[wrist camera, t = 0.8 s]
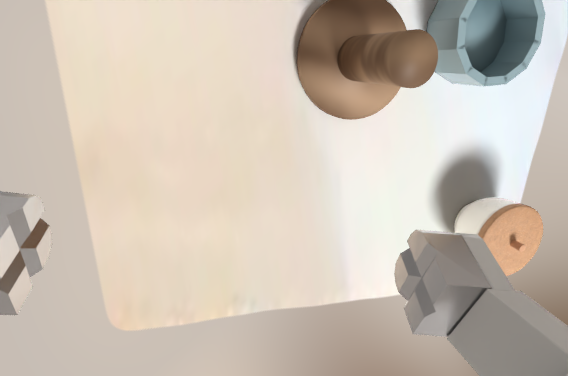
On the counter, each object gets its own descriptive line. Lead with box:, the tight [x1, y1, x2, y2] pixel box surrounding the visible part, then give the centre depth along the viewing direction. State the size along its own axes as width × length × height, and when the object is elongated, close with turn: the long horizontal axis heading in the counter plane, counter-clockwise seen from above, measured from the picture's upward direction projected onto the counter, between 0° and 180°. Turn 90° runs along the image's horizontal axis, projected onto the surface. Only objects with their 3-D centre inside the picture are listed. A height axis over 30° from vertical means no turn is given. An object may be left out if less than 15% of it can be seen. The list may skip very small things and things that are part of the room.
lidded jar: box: [454, 197, 543, 276], centre depth 55 cm, size 11×11×9 cm
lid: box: [297, 0, 438, 119], centre depth 40 cm, size 14×14×12 cm
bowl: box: [427, 0, 545, 86], centre depth 46 cm, size 12×12×6 cm
